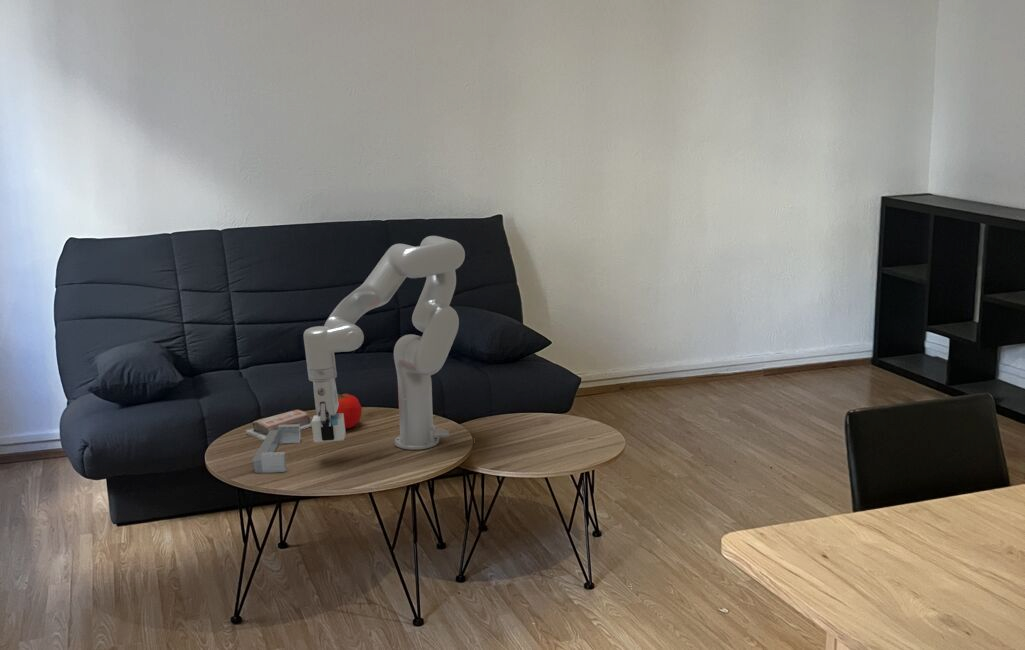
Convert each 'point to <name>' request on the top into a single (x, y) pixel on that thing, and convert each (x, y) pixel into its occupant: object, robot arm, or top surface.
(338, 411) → the tomato
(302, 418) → the packaged product
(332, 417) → the block
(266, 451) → the rail
